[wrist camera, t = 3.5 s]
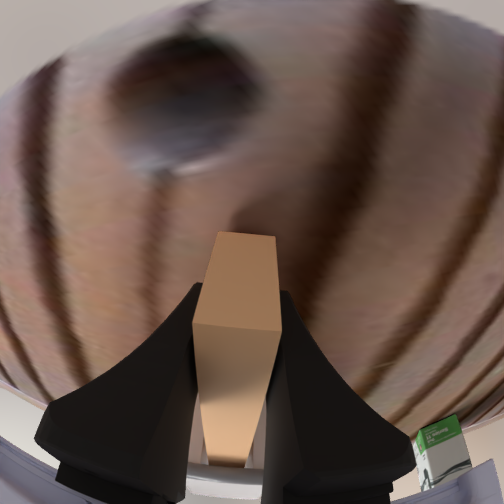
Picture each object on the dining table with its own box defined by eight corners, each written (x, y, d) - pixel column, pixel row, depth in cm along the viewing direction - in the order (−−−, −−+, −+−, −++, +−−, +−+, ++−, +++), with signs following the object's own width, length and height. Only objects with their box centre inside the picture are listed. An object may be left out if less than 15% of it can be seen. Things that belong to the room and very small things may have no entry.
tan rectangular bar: (246, 411, 17) (243, 471, 13) (216, 408, 17) (209, 468, 13) (275, 236, 10) (282, 331, 6) (218, 230, 10) (192, 322, 6)
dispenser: (261, 433, 20) (259, 500, 14) (198, 427, 20) (188, 494, 14) (276, 388, 16) (277, 483, 10) (191, 380, 16) (173, 473, 10)
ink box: (418, 428, 22) (438, 519, 11) (457, 411, 20) (482, 498, 10) (410, 448, 26) (424, 520, 15) (443, 435, 25) (460, 505, 14)
